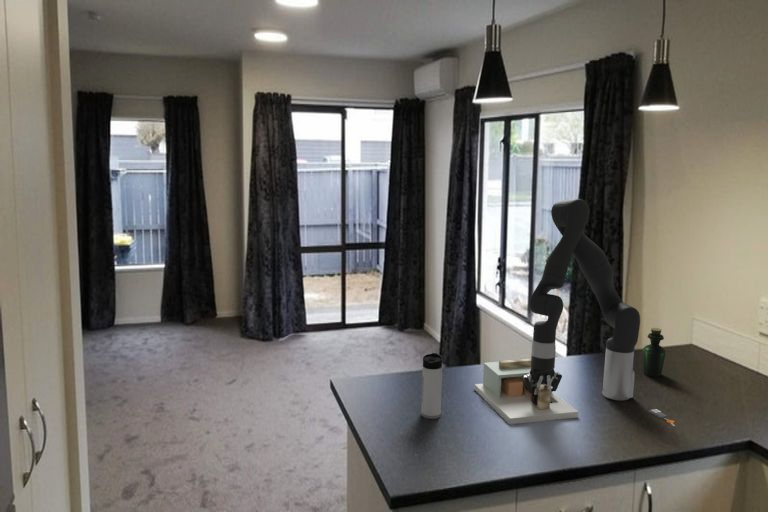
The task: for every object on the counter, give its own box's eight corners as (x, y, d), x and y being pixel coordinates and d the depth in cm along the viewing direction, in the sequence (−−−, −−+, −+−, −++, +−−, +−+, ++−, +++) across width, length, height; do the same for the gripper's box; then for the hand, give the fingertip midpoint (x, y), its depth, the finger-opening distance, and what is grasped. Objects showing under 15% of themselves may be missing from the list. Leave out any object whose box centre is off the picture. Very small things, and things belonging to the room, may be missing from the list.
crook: (523, 385, 217) (524, 369, 216) (549, 408, 199) (550, 391, 198) (500, 387, 215) (501, 371, 214) (524, 410, 197) (525, 393, 196)
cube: (515, 390, 214) (516, 376, 213) (522, 395, 209) (522, 381, 208) (502, 391, 213) (503, 377, 212) (508, 396, 208) (509, 383, 207)
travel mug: (442, 412, 200) (444, 353, 197) (438, 420, 194) (439, 360, 190) (424, 409, 202) (426, 351, 199) (419, 417, 196) (420, 358, 192)
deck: (535, 384, 225) (536, 358, 224) (578, 417, 198) (580, 388, 196) (474, 389, 219) (475, 362, 218) (509, 424, 192) (511, 394, 190)
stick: (535, 364, 217) (535, 358, 217) (537, 365, 216) (538, 360, 215) (498, 366, 214) (499, 360, 214) (501, 368, 212) (501, 362, 212)
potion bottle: (642, 376, 235) (646, 331, 231) (639, 369, 242) (643, 325, 239) (665, 378, 232) (669, 333, 229) (662, 371, 240) (666, 327, 237)
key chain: (646, 413, 202) (647, 409, 202) (655, 412, 204) (656, 407, 203) (676, 430, 190) (677, 425, 190) (686, 428, 191) (686, 424, 191)
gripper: (557, 348, 203) (554, 397, 206) (518, 351, 200) (515, 401, 203) (569, 356, 196) (565, 406, 199) (528, 359, 193) (525, 410, 196)
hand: (540, 403), depth 201 cm, fingers closed on crook, 3 cm apart
